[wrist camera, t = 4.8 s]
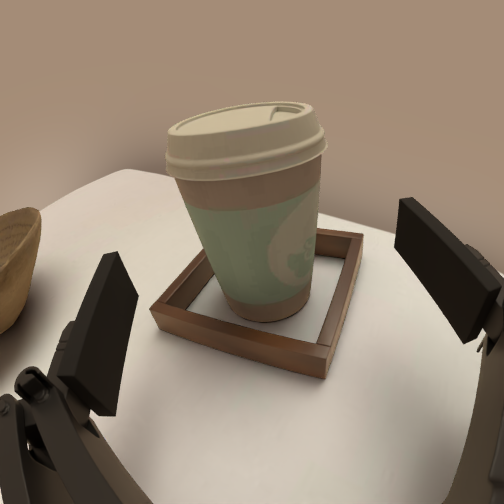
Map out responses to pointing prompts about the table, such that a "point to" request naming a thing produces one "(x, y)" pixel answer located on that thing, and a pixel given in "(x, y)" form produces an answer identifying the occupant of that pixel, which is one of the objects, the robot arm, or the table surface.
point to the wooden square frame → (254, 341)
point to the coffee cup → (253, 200)
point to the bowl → (17, 261)
